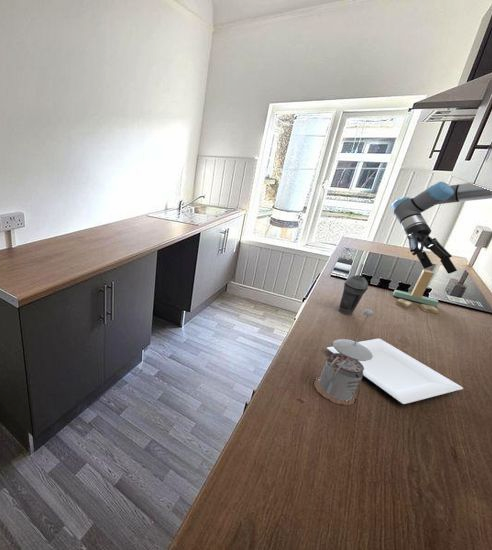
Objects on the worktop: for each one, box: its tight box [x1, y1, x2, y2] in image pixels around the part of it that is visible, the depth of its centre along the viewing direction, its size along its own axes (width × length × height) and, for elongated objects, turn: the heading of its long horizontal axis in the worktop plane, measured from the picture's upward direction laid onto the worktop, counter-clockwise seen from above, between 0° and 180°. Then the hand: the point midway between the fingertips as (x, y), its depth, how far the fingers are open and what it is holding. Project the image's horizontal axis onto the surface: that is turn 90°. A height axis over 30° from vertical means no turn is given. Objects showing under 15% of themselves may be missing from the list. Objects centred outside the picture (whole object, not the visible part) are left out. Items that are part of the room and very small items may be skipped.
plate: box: [326, 338, 464, 405], centre depth 86 cm, size 22×22×2 cm
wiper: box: [392, 268, 440, 308], centre depth 125 cm, size 14×3×14 cm, turn 53°
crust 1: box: [395, 298, 413, 309], centre depth 124 cm, size 4×4×2 cm
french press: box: [318, 309, 375, 401], centre depth 73 cm, size 10×12×25 cm
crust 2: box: [419, 303, 439, 315], centre depth 120 cm, size 4×4×2 cm
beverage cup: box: [338, 263, 369, 316], centre depth 113 cm, size 7×7×20 cm
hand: (440, 269), depth 119 cm, fingers open, 13 cm apart
